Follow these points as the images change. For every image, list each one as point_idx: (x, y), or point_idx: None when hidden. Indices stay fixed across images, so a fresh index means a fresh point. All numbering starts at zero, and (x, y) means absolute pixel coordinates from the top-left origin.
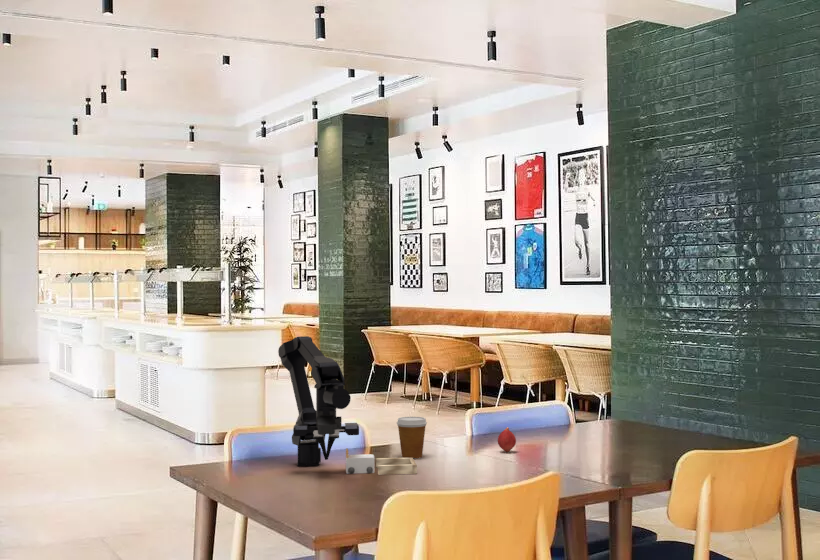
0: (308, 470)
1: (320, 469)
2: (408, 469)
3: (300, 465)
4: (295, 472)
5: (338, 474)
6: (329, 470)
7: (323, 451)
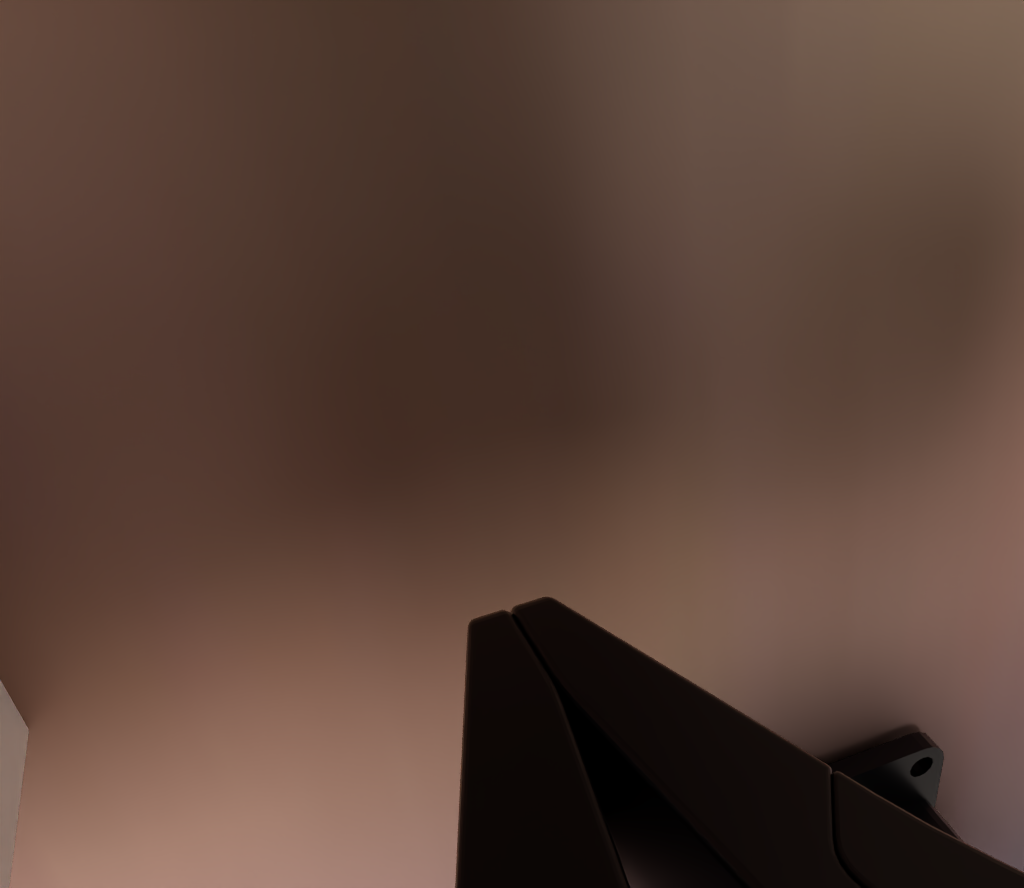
0: (774, 517)
1: None
2: None
3: (891, 746)
4: (997, 309)
5: (16, 196)
6: (384, 600)
7: (710, 726)
